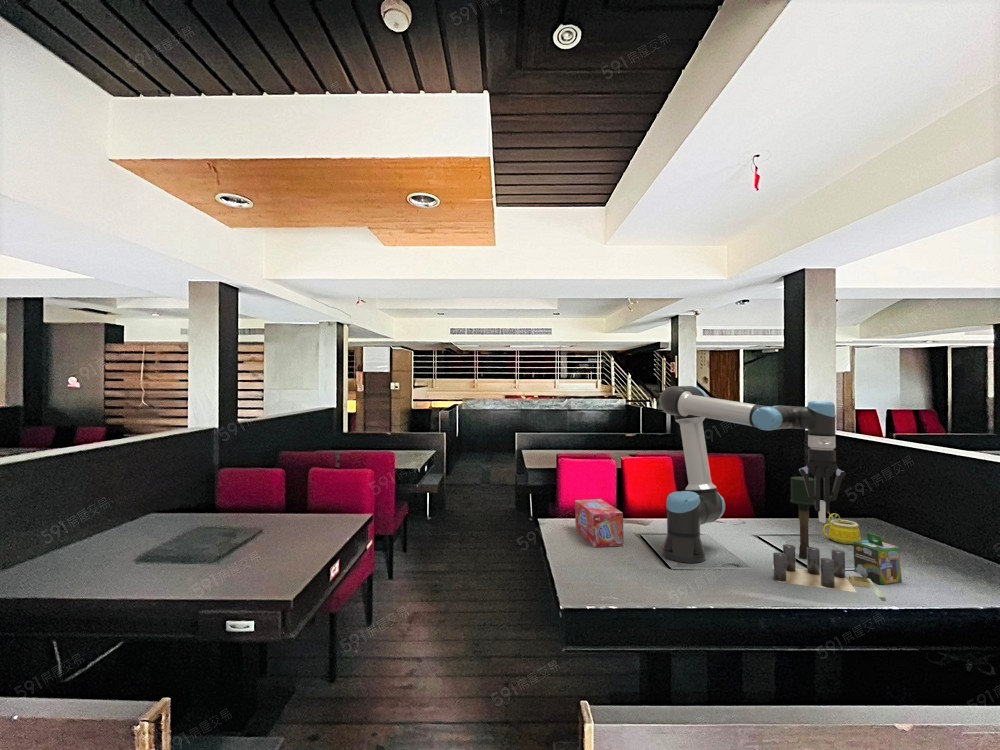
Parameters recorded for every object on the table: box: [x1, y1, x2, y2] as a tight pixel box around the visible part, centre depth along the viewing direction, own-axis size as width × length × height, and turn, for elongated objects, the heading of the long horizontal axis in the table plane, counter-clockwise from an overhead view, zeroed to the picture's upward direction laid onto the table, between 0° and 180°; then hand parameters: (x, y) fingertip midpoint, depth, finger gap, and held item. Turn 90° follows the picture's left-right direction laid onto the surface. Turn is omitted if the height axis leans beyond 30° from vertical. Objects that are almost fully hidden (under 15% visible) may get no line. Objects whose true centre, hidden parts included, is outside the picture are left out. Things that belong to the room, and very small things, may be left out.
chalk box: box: [852, 532, 903, 586], centre depth 162 cm, size 9×9×15 cm
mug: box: [822, 511, 862, 545], centre depth 203 cm, size 13×11×12 cm
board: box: [771, 564, 887, 602], centre depth 158 cm, size 28×16×1 cm, turn 66°
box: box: [574, 498, 625, 548], centre depth 209 cm, size 27×13×14 cm, turn 7°
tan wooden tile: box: [848, 575, 871, 589], centre depth 154 cm, size 4×4×2 cm
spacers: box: [772, 544, 846, 589], centre depth 159 cm, size 22×15×8 cm
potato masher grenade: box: [789, 476, 815, 560], centre depth 180 cm, size 8×9×30 cm
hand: (822, 521), depth 159 cm, fingers closed
